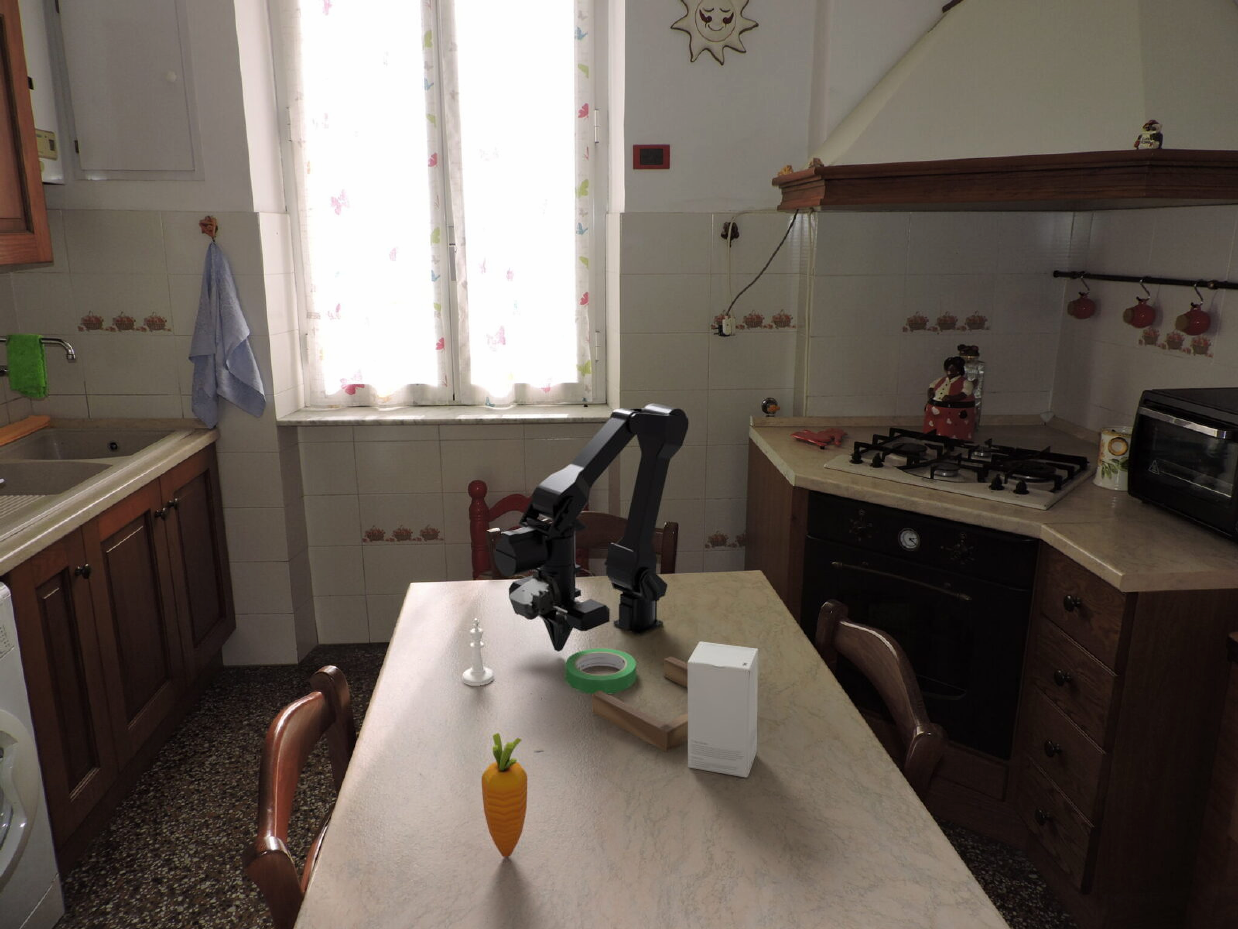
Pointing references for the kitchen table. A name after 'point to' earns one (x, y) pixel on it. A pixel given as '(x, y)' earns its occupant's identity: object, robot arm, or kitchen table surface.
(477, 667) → the chess piece
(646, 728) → the corral
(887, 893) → the kitchen table surface
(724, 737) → the skincare box
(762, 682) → the kitchen table surface
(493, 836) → the carrot
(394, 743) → the kitchen table surface
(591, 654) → the tape roll
